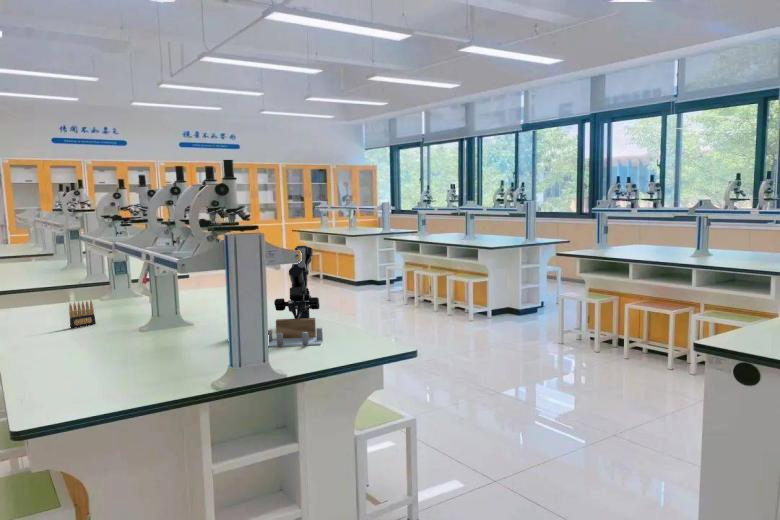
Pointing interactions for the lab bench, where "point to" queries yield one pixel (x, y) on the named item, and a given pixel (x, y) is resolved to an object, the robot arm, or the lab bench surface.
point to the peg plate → (295, 339)
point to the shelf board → (296, 327)
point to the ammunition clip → (81, 315)
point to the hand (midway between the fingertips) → (296, 320)
